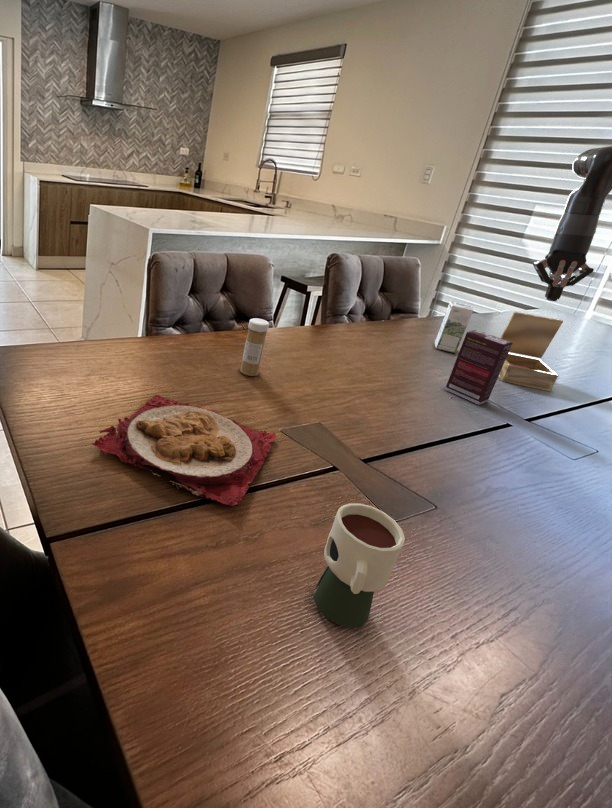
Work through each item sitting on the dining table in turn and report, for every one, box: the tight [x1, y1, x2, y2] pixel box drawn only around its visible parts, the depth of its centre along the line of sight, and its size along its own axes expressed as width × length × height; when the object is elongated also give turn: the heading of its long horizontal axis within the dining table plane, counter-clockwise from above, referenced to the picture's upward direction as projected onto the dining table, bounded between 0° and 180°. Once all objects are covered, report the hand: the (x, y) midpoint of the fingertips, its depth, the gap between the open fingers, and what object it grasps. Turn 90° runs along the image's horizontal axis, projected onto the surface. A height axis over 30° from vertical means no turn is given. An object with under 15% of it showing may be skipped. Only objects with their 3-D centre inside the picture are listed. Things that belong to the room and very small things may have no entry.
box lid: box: [500, 311, 564, 359], centre depth 131 cm, size 12×12×1 cm
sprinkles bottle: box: [239, 317, 270, 377], centre depth 112 cm, size 5×5×14 cm
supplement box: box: [444, 329, 513, 406], centre depth 113 cm, size 9×5×16 cm, turn 34°
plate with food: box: [91, 394, 277, 507], centre depth 83 cm, size 24×26×3 cm
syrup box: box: [434, 300, 474, 354], centre depth 144 cm, size 6×6×14 cm
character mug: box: [313, 502, 406, 629], centre depth 54 cm, size 11×7×13 cm, turn 155°
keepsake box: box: [498, 352, 559, 392], centre depth 131 cm, size 12×12×5 cm
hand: (551, 300), depth 123 cm, fingers closed
